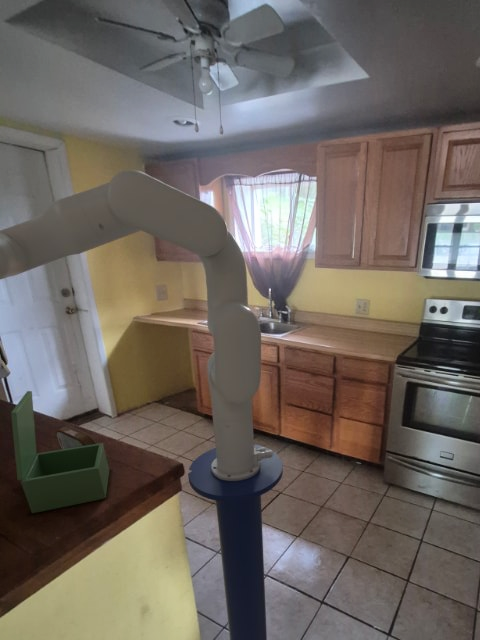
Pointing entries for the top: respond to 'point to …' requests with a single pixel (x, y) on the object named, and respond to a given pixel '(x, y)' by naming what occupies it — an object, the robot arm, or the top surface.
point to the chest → (66, 477)
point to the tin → (73, 438)
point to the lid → (24, 434)
